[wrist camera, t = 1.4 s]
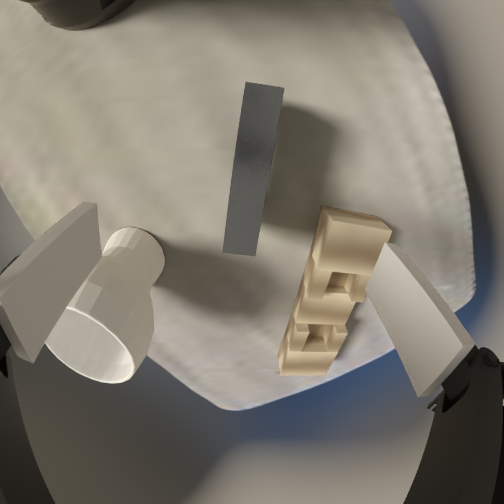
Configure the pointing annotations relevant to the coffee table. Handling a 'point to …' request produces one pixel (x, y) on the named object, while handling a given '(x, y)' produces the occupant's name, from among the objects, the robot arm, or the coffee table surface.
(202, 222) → the coffee table surface
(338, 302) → the rail
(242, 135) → the grey block
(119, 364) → the cup
